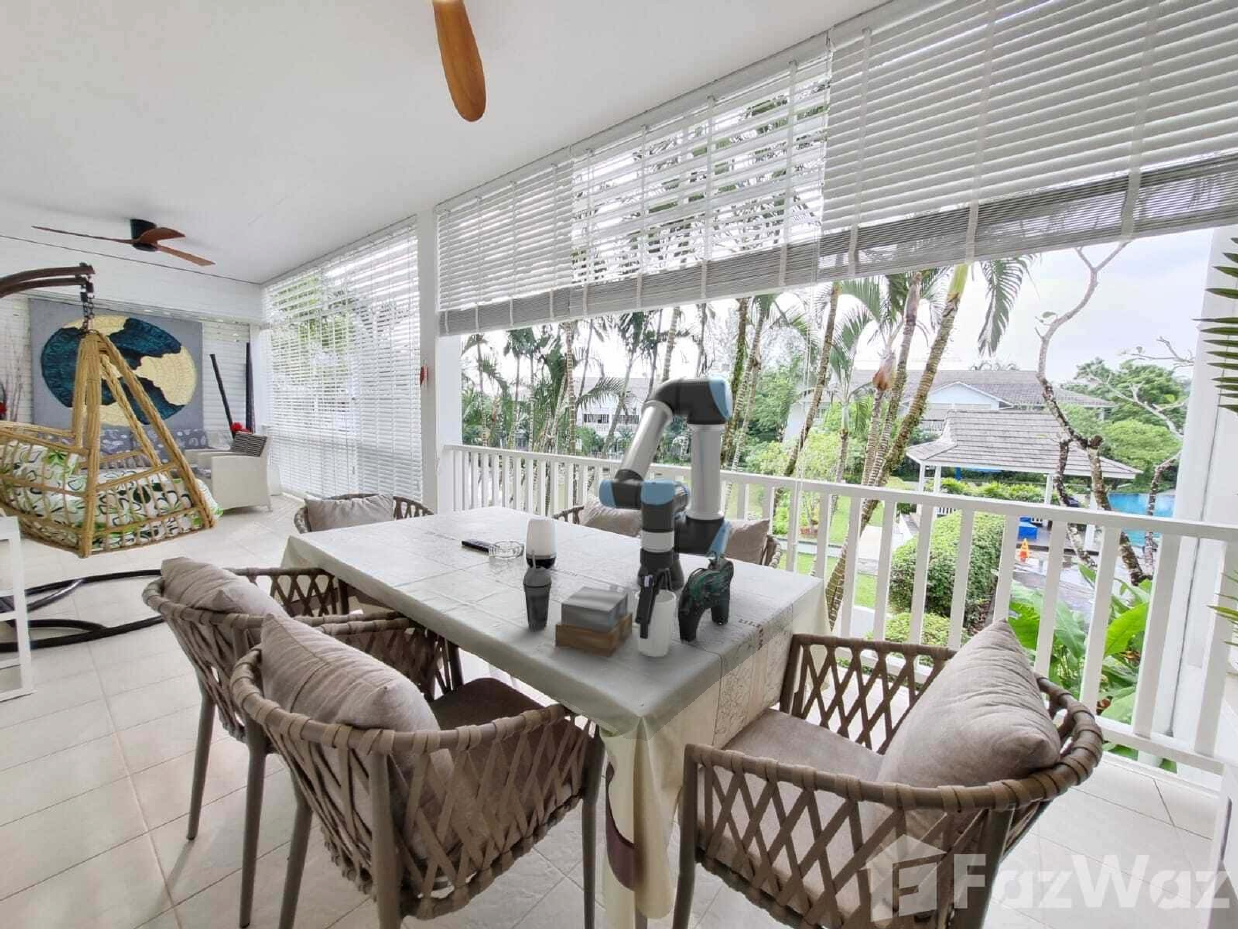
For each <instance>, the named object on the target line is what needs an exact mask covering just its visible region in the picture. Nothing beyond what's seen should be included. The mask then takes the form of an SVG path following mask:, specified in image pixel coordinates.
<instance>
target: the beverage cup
mask: <svg viewBox="0 0 1238 929" xmlns="http://www.w3.org/2000/svg"><path fill="white" fill-rule="evenodd" d="M531 556H532V557H531V558H532V565H533V566H532V567H531V568H529V569H527V571H526V572H525V574H524V577H523V580H522V585H523V590H524V596H525V604H526V605H525V606H526V607H525V608H526V617H527V623H528V624H527V625H528V629H529V628H530V629H529V630H531V631H542V630H544V628H545V627H546V628H547V624H548V617H549V616H548V615H549V606H550V605H549V604H550V592H551V588H552V584H553V581H552V575H551V574H550V572H549V570H548V569H546V568H545V567H543V566H540V565H536V560H535V559H536V558H535V552H534V549H531ZM546 628H545V629H546Z"/></svg>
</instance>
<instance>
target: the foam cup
mask: <svg viewBox="0 0 1238 929" xmlns="http://www.w3.org/2000/svg"><path fill="white" fill-rule="evenodd" d="M639 595H640V590H639V591H636V593H635V594H634V596H635V607H636V614H637V608H638V602H639ZM676 607H677V595H676V594H675V593H674V592H670V591H668V590H663V589H660V591H659V594H658V595H656V599H655V604H654V608H653V613H652V617H651V622H652V646H651V653H648V652H644V651H640V652H641V654H643V655H645V656H647V657H653V658H654V657H655V658H659V657H664V656H665V655H667V654H668V652H669V648H670V641H671V635H672V629H673V623H674V618H675V611H676ZM642 618H643V617H642ZM637 624H638V623H637ZM637 630H638V633H639V624H638V626H637Z"/></svg>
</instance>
